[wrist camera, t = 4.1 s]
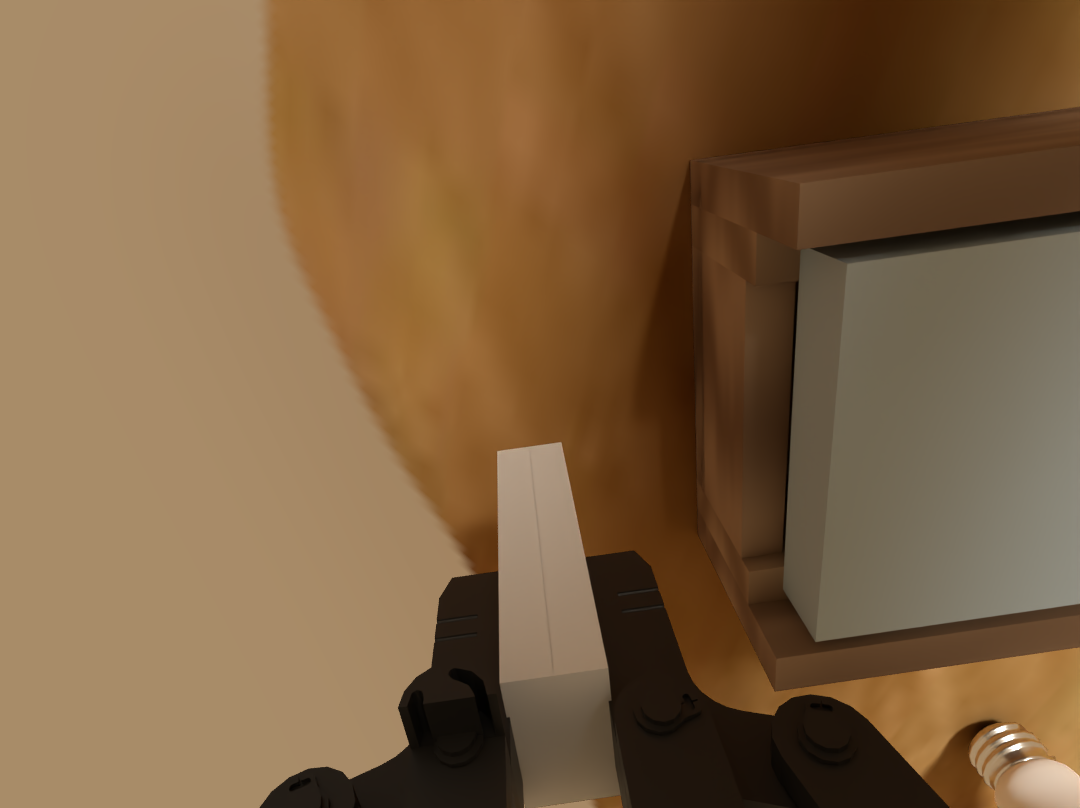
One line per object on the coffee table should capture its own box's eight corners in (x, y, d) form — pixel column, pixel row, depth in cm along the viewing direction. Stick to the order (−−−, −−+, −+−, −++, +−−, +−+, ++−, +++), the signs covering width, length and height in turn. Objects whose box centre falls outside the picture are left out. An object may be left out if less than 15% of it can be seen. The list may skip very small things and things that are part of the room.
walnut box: (690, 160, 18) (800, 183, 11) (1244, 84, 18) (1661, 65, 11) (697, 534, 23) (774, 691, 17) (1122, 473, 23) (1358, 606, 17)
